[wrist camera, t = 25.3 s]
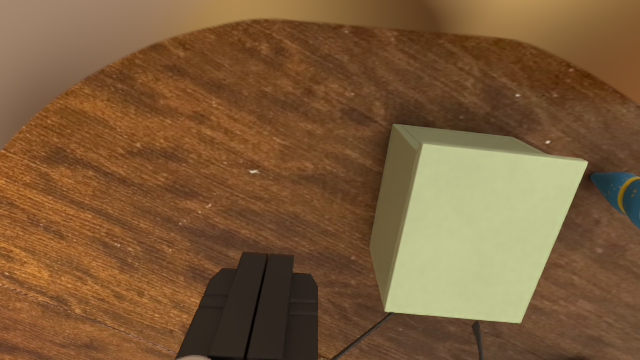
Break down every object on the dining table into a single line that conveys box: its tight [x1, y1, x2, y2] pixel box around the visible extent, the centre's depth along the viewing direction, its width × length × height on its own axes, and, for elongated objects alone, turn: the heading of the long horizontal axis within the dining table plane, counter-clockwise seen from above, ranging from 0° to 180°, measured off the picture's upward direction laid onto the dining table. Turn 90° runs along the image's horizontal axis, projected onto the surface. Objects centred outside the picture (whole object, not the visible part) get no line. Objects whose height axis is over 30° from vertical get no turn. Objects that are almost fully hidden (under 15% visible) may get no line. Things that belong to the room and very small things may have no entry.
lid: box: [383, 141, 588, 323], centre depth 27 cm, size 14×12×1 cm
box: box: [369, 124, 548, 304], centre depth 31 cm, size 14×12×9 cm
